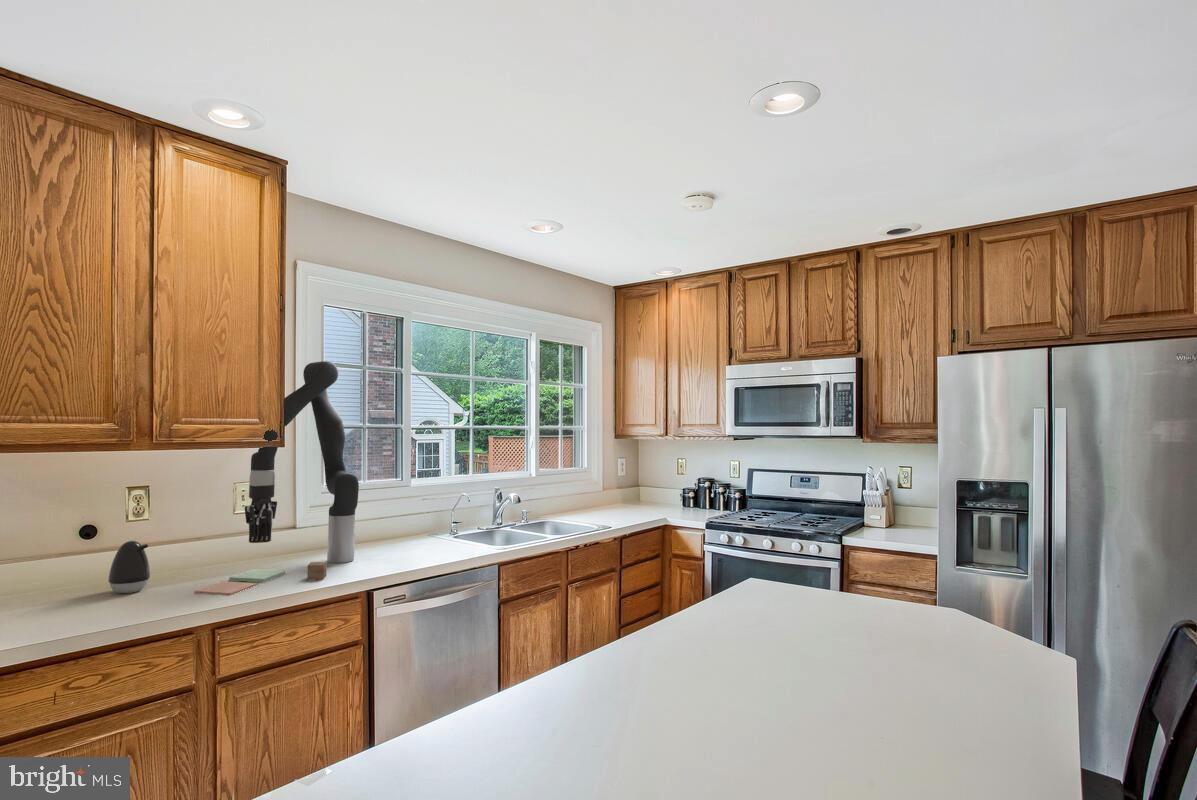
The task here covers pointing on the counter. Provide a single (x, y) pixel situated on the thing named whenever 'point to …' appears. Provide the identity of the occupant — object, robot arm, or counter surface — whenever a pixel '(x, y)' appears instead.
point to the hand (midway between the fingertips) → (260, 534)
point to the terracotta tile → (226, 588)
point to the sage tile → (257, 575)
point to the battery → (263, 528)
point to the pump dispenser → (129, 568)
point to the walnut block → (316, 570)
